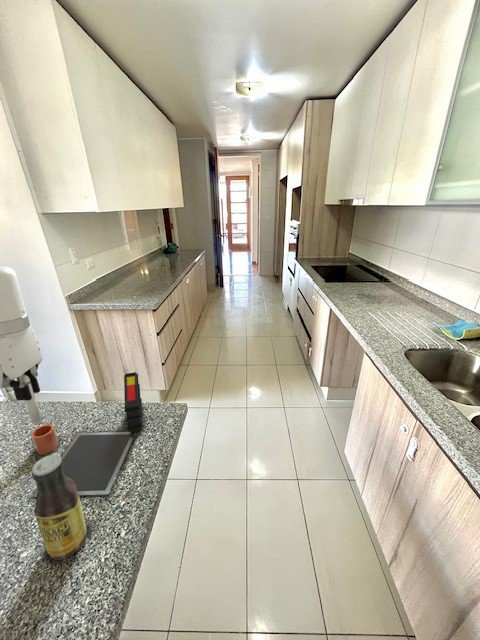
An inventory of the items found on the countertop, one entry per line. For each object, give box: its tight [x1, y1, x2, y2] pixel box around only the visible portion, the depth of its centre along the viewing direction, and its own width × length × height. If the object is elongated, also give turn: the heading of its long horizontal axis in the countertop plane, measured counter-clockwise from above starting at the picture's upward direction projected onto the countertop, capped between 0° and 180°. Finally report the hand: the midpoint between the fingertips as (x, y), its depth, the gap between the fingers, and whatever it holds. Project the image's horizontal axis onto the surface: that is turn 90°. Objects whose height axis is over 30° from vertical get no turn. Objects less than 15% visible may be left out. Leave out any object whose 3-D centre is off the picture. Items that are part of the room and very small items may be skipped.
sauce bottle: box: [31, 454, 87, 561], centre depth 45 cm, size 7×6×20 cm
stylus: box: [23, 375, 43, 426], centre depth 63 cm, size 2×2×14 cm
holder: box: [31, 423, 59, 455], centre depth 67 cm, size 5×5×6 cm
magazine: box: [123, 371, 144, 432], centre depth 76 cm, size 4×13×15 cm, turn 21°
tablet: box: [32, 431, 137, 498], centre depth 64 cm, size 16×18×1 cm
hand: (28, 395), depth 62 cm, fingers closed on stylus, 2 cm apart
